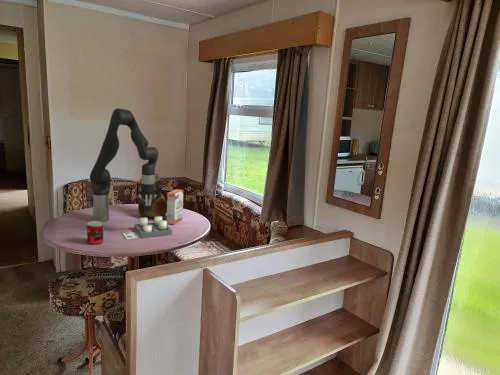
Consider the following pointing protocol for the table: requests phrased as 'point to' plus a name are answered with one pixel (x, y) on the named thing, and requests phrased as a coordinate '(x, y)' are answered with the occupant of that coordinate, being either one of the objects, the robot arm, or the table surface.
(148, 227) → the button
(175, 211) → the cracker box
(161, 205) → the ceramic pitcher
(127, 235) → the card
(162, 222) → the button
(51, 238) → the table surface
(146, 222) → the button
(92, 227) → the canned food
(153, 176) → the robot arm
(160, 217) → the button
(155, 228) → the board
